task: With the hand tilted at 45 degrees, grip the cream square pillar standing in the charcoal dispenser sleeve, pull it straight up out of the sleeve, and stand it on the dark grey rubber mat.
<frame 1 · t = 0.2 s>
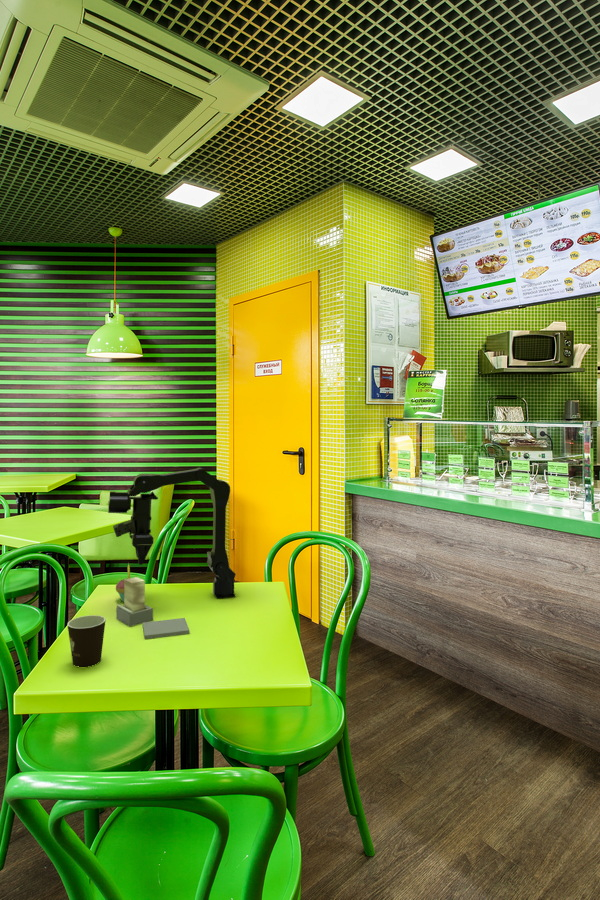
hand: (139, 560, 168), 14 cm above the table, tool pointing down, fingers open, 9 cm apart
rubber mat: (165, 629, 148), on the table
dispenser sleeve: (134, 619, 155), on the table
coffee mug: (87, 659, 129), on the table
cream square pillar: (134, 619, 155), resting in dispenser sleeve
cupcake: (129, 600, 173), on the table
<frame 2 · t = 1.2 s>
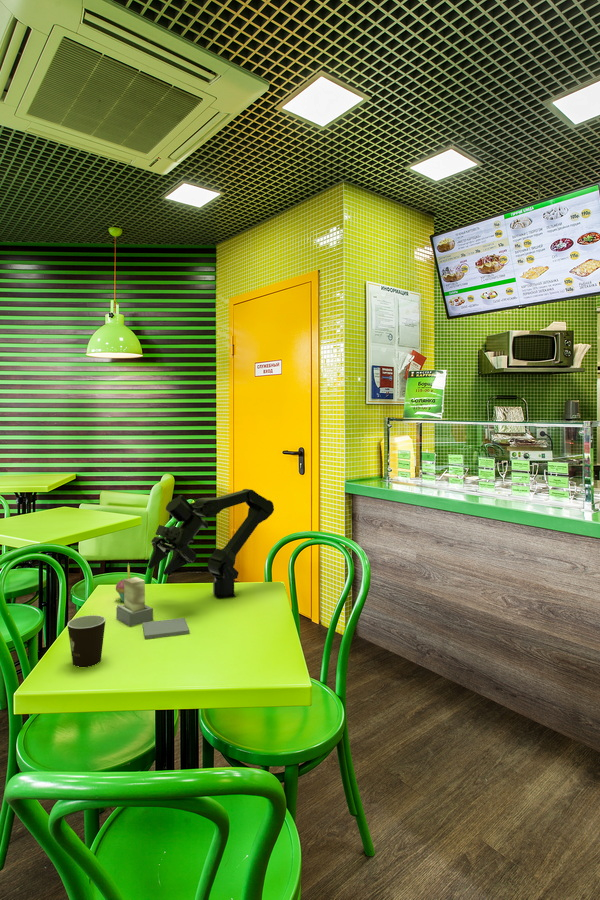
hand: (156, 571, 160), 13 cm above the table, tool tilted 45°, fingers open, 9 cm apart
nothing on the table moved.
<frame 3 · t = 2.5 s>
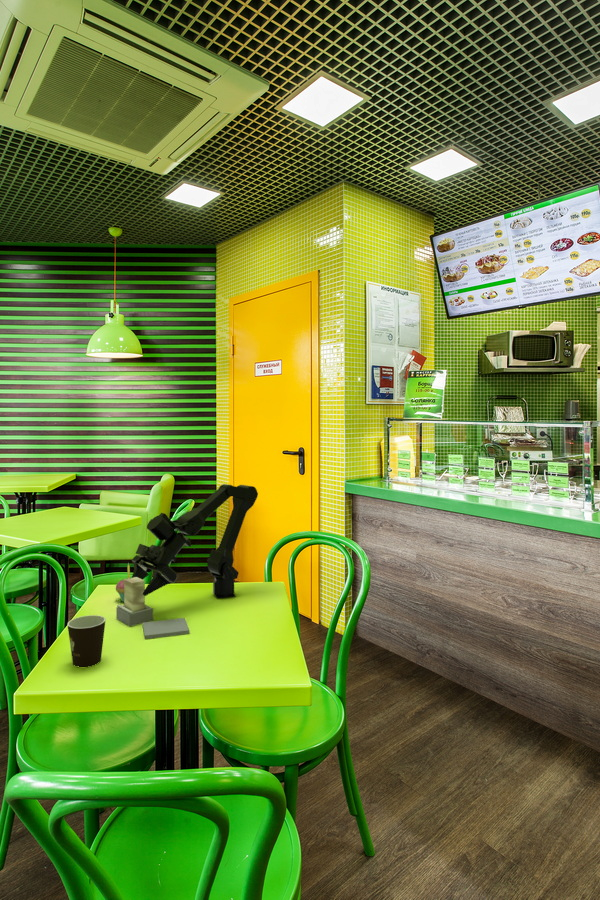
hand: (136, 591, 155), 8 cm above the table, tool tilted 45°, fingers open, 9 cm apart
nothing on the table moved.
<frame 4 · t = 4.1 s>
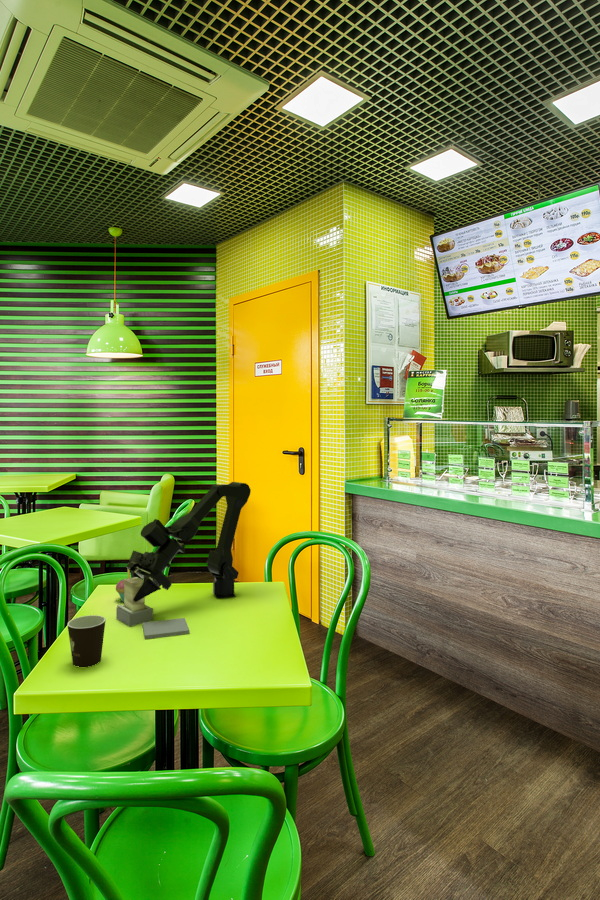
hand: (130, 598, 154), 7 cm above the table, tool tilted 45°, fingers closed on cream square pillar, 5 cm apart
cream square pillar: (134, 619, 155), resting in dispenser sleeve, touching gripper
everything else where it was.
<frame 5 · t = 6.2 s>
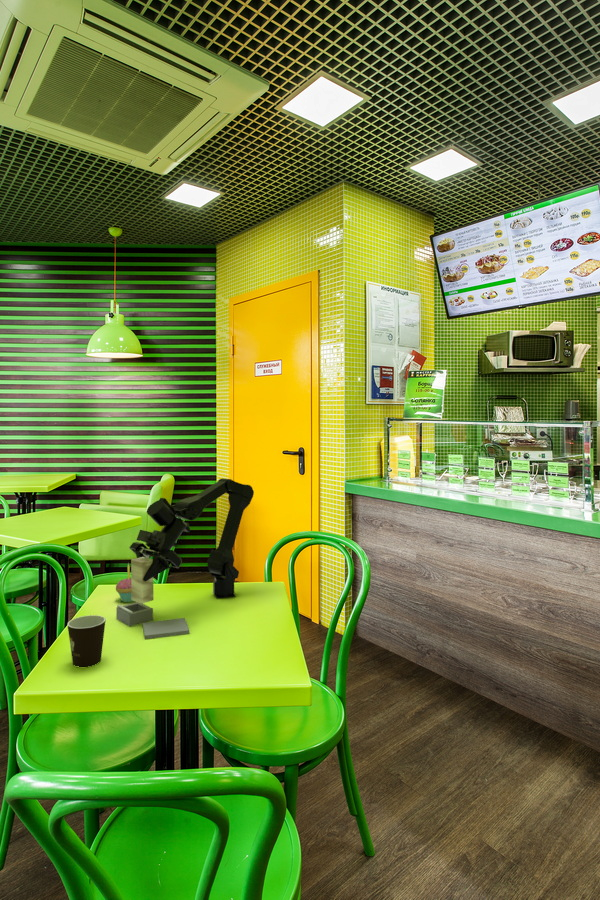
hand: (138, 578, 151), 14 cm above the table, tool tilted 45°, fingers closed on cream square pillar, 5 cm apart
cream square pillar: (142, 600, 152), point 7 cm above the table, touching gripper
everything else where it was.
when the fingers open (9 cm above the table, at t = 8.5 s): cream square pillar drops 1 cm, resting on rubber mat.
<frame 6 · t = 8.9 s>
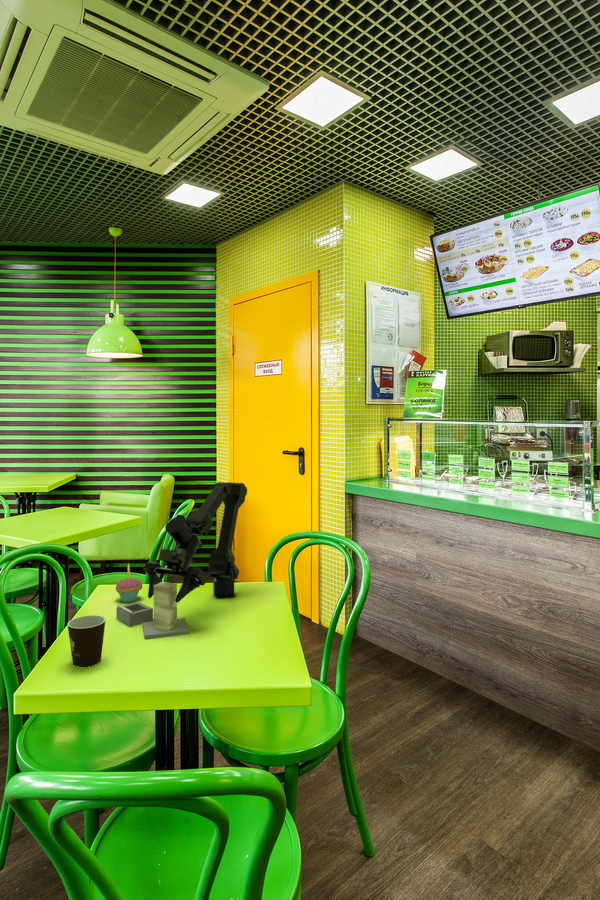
hand: (162, 599, 146), 9 cm above the table, tool tilted 45°, fingers open, 9 cm apart
cream square pillar: (165, 626, 148), point 1 cm above the table, touching rubber mat
everything else where it was.
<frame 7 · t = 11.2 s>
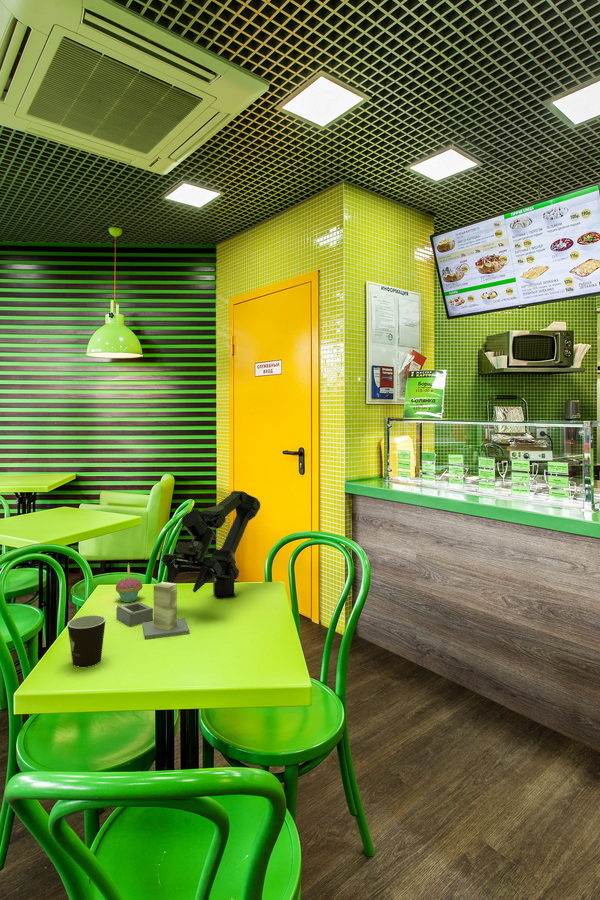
hand: (180, 589, 155), 9 cm above the table, tool tilted 45°, fingers open, 9 cm apart
nothing on the table moved.
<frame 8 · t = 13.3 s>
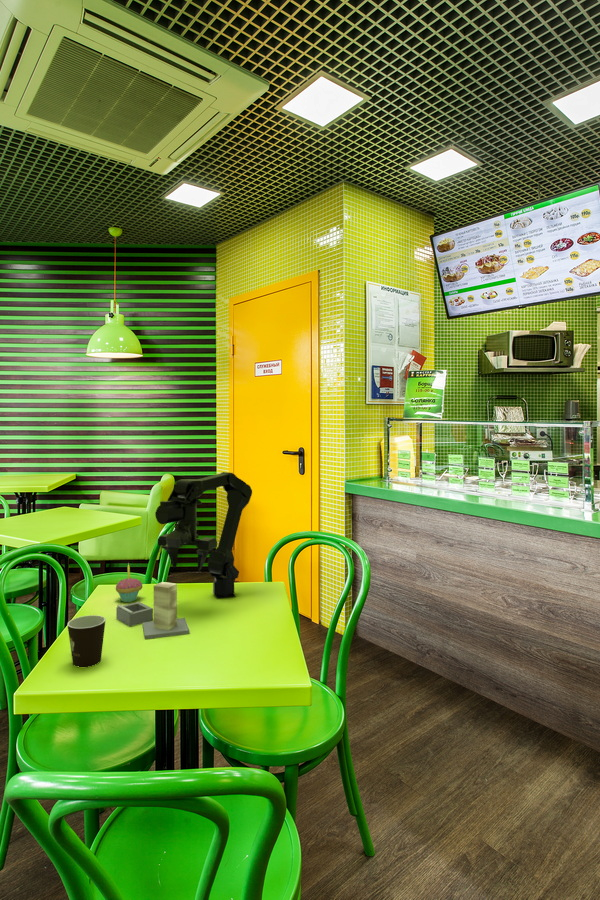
hand: (187, 568, 164), 13 cm above the table, tool pointing down, fingers open, 9 cm apart
nothing on the table moved.
at the end: cream square pillar inside the target area on the rubber mat (0.1 cm from its centre), point 1.0 cm above the rubber mat's base; cream square pillar tilted 0°; the gripper is holding nothing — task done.
